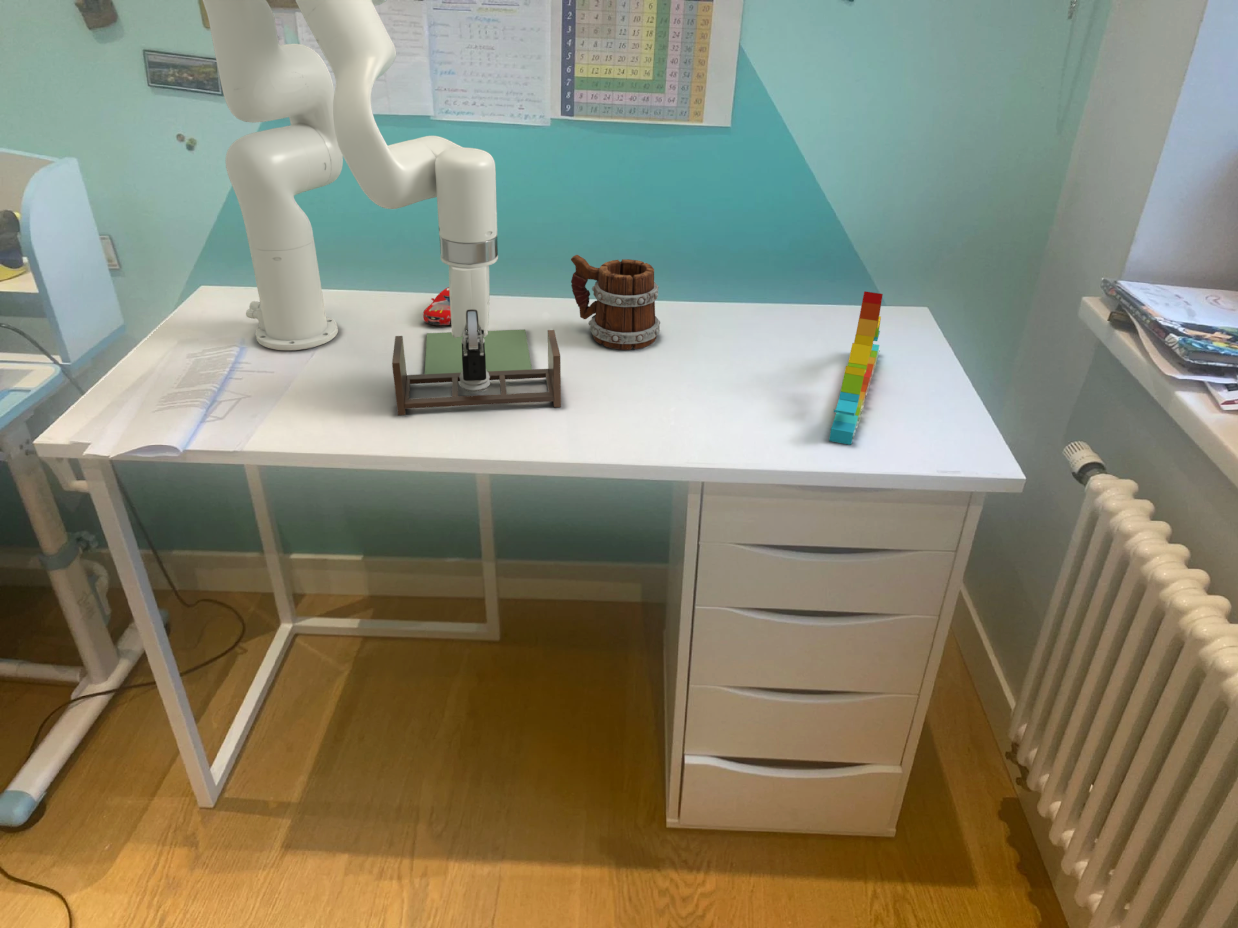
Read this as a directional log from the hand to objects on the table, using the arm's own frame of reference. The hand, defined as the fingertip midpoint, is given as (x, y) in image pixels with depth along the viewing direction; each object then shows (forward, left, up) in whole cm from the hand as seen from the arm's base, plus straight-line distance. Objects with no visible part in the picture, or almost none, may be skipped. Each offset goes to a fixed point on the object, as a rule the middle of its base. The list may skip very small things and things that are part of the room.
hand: (474, 371), depth 131 cm
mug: (+11, +28, -4) cm, 30 cm away
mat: (-7, +12, -4) cm, 15 cm away
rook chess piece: (0, 0, -2) cm, 2 cm away
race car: (-18, +25, -4) cm, 31 cm away
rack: (+1, 0, -4) cm, 4 cm away
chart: (+51, +23, -4) cm, 56 cm away
